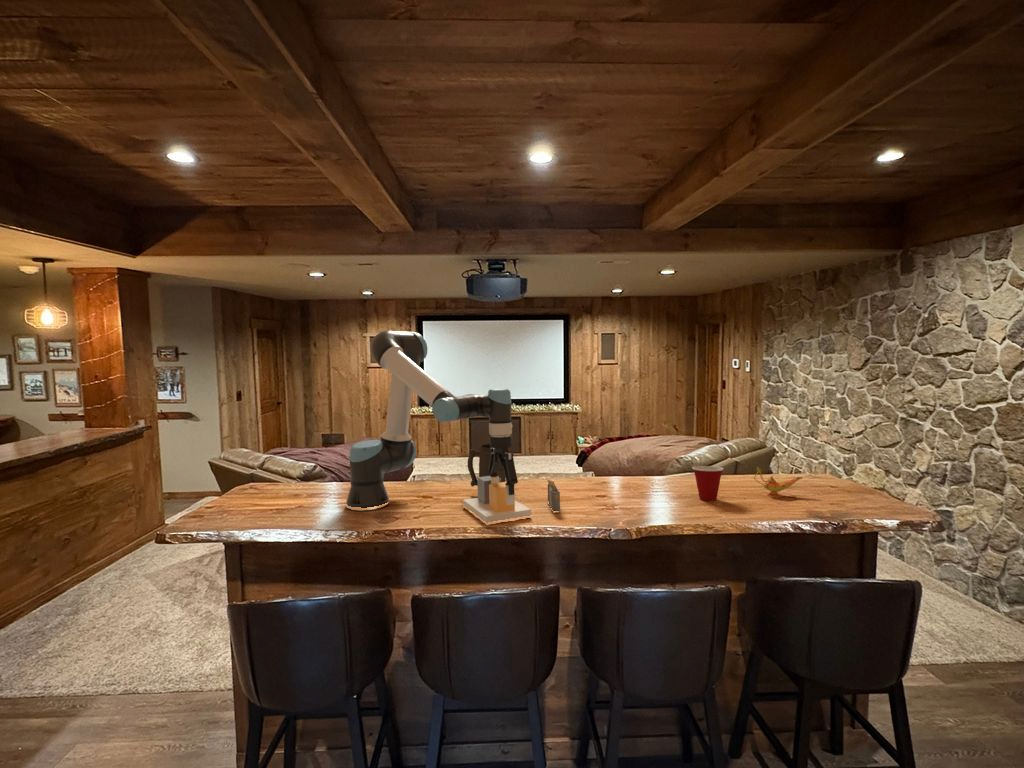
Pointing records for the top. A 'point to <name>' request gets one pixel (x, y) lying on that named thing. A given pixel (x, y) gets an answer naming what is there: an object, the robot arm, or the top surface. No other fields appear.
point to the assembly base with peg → (483, 508)
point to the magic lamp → (776, 485)
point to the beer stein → (482, 464)
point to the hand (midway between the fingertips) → (502, 500)
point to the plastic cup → (707, 481)
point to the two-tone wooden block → (499, 497)
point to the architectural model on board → (553, 496)
